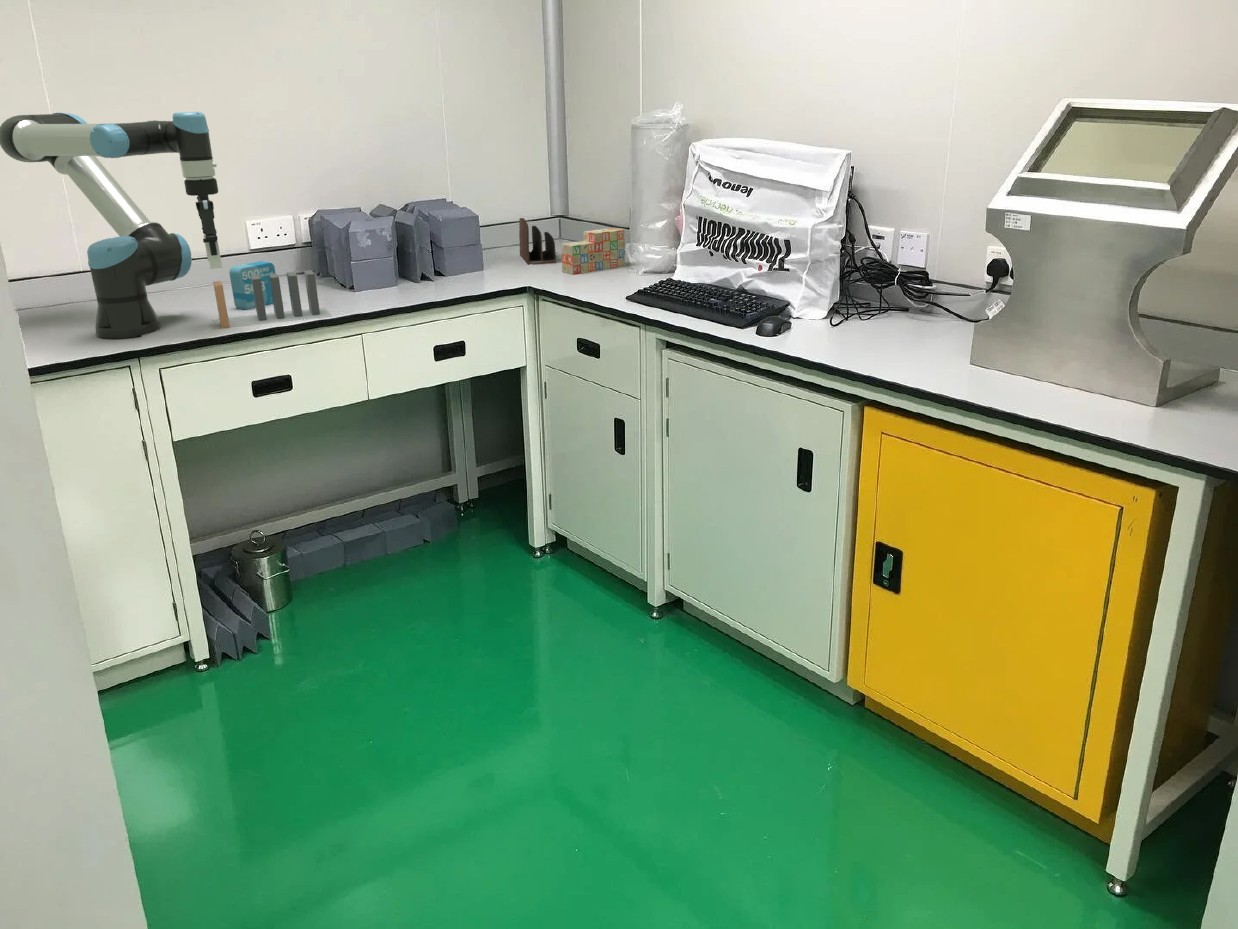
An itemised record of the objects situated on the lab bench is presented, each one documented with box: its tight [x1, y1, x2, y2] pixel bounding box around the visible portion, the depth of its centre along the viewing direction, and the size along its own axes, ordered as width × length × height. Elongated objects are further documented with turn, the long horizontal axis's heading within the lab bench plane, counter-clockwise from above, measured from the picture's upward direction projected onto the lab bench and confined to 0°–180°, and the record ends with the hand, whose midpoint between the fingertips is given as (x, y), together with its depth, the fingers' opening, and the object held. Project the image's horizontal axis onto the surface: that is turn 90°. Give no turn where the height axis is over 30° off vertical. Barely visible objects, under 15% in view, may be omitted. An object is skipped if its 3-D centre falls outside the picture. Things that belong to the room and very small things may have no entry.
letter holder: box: [518, 217, 557, 266], centre depth 341 cm, size 10×20×14 cm, turn 13°
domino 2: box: [251, 275, 267, 321], centre depth 262 cm, size 2×6×11 cm, turn 23°
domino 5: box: [303, 269, 320, 315], centre depth 267 cm, size 2×6×11 cm, turn 24°
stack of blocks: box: [561, 227, 626, 275], centre depth 322 cm, size 21×6×12 cm, turn 128°
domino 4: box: [286, 271, 303, 317], centre depth 266 cm, size 2×6×11 cm, turn 23°
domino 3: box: [269, 272, 285, 319], centre depth 264 cm, size 2×6×11 cm, turn 24°
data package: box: [228, 260, 277, 311], centre depth 278 cm, size 12×4×12 cm, turn 147°
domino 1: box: [212, 280, 231, 329], centre depth 255 cm, size 2×6×11 cm, turn 24°
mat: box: [210, 307, 333, 330], centre depth 264 cm, size 30×12×1 cm, turn 114°
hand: (214, 264), depth 252 cm, fingers open, 13 cm apart
